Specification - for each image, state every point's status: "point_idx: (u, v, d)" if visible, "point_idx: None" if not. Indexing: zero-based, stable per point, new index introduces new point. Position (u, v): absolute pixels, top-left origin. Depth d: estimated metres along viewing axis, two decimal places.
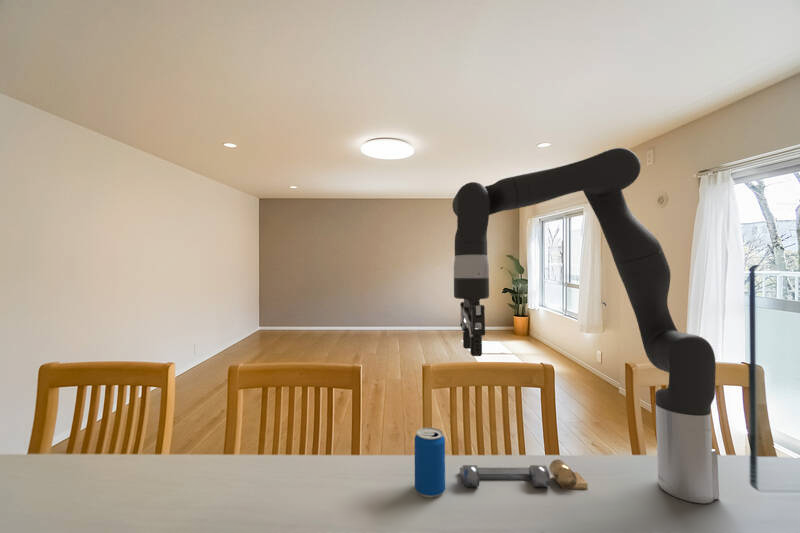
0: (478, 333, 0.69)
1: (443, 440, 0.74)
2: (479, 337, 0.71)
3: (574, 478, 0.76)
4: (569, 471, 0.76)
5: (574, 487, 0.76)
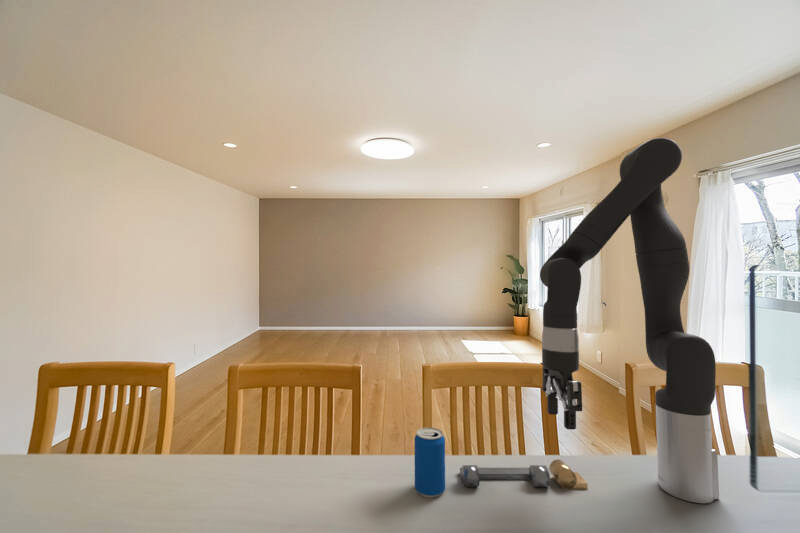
0: (575, 409, 0.72)
1: (443, 440, 0.74)
2: (574, 412, 0.73)
3: (574, 478, 0.76)
4: (569, 471, 0.76)
5: (574, 487, 0.76)
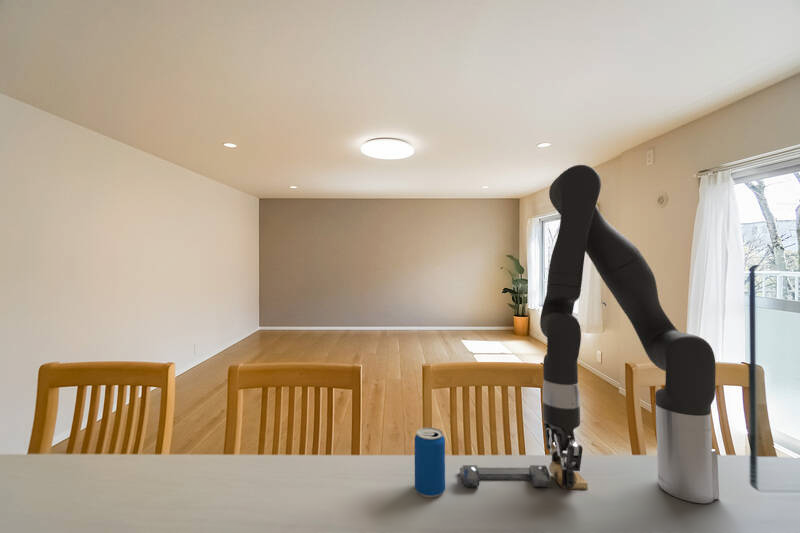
0: (573, 469, 0.73)
1: (443, 440, 0.74)
2: (572, 471, 0.74)
3: (574, 478, 0.76)
4: None
5: (574, 487, 0.76)
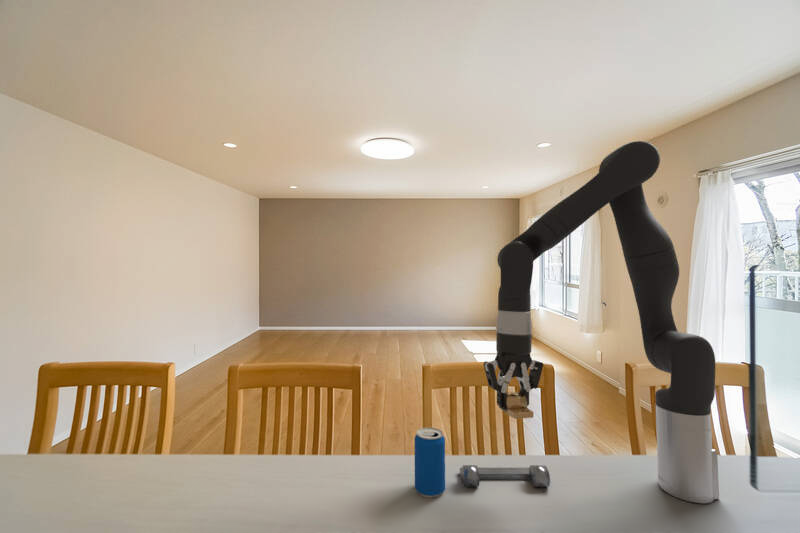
0: (491, 386, 0.78)
1: (443, 440, 0.74)
2: (498, 391, 0.78)
3: (507, 403, 0.77)
4: None
5: (507, 412, 0.77)
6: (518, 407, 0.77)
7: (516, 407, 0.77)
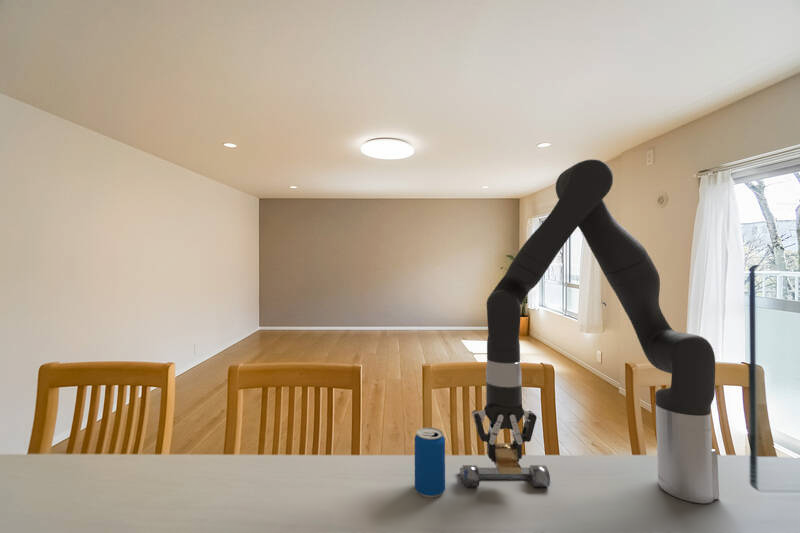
0: (479, 436, 0.77)
1: (443, 440, 0.74)
2: (487, 442, 0.77)
3: (495, 456, 0.76)
4: None
5: (495, 464, 0.76)
6: (507, 460, 0.75)
7: (505, 460, 0.75)
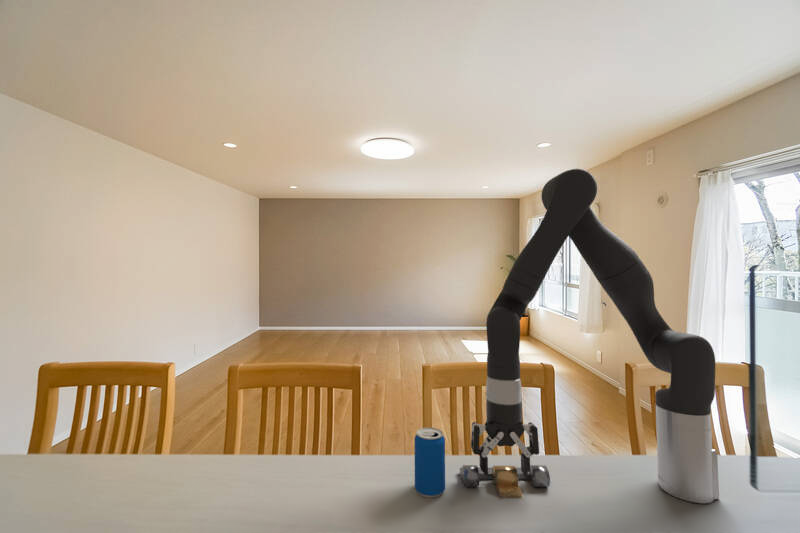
0: (472, 449, 0.77)
1: (443, 440, 0.74)
2: None
3: (496, 479, 0.75)
4: (495, 469, 0.77)
5: (496, 488, 0.75)
6: (508, 484, 0.75)
7: (506, 483, 0.75)
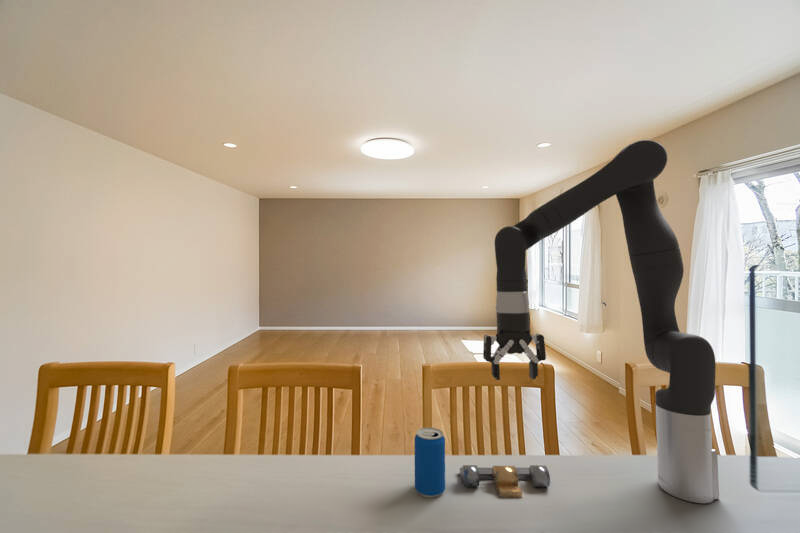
0: (484, 358, 0.84)
1: (443, 440, 0.74)
2: (491, 363, 0.84)
3: (496, 479, 0.75)
4: (495, 469, 0.77)
5: (496, 487, 0.75)
6: (508, 484, 0.75)
7: (506, 483, 0.75)
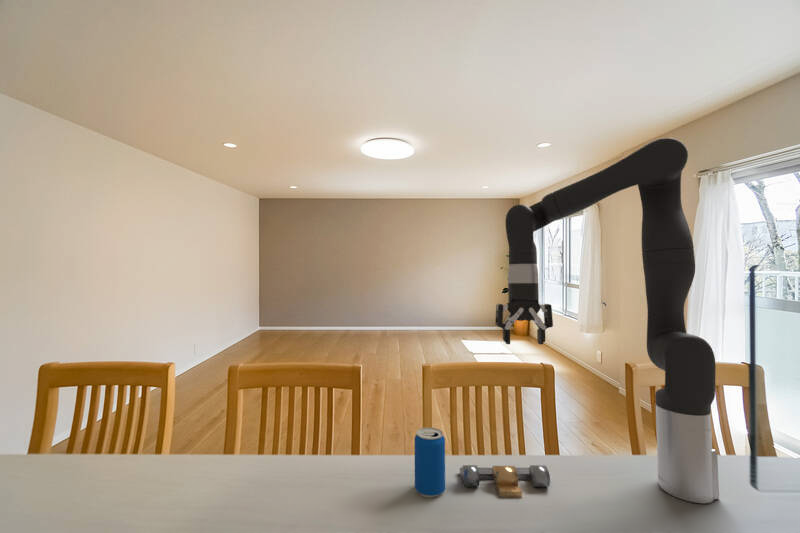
0: (496, 324, 0.93)
1: (443, 440, 0.74)
2: (503, 329, 0.92)
3: (496, 479, 0.75)
4: (495, 469, 0.77)
5: (496, 487, 0.75)
6: (508, 484, 0.75)
7: (506, 483, 0.75)
